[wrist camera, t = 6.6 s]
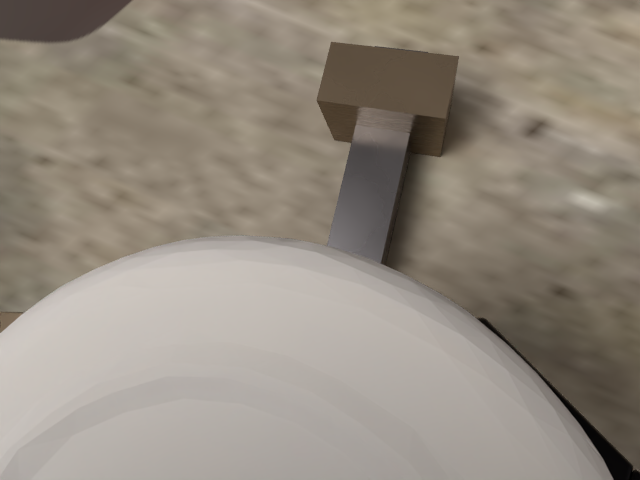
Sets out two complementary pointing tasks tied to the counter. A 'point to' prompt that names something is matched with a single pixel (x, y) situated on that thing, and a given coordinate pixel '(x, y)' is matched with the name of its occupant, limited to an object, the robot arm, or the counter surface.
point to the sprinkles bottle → (271, 376)
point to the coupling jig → (376, 135)
